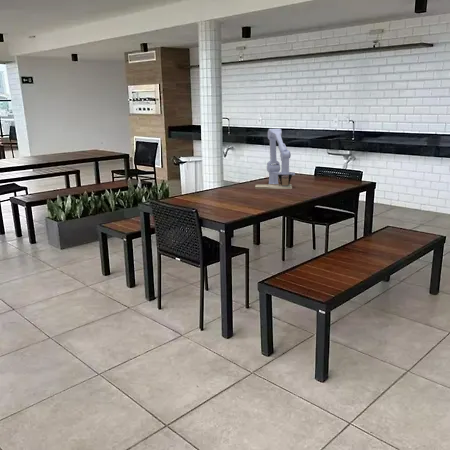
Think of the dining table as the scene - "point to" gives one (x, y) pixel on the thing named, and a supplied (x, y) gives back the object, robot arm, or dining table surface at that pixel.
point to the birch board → (272, 187)
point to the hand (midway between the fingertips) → (285, 184)
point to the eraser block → (285, 181)
